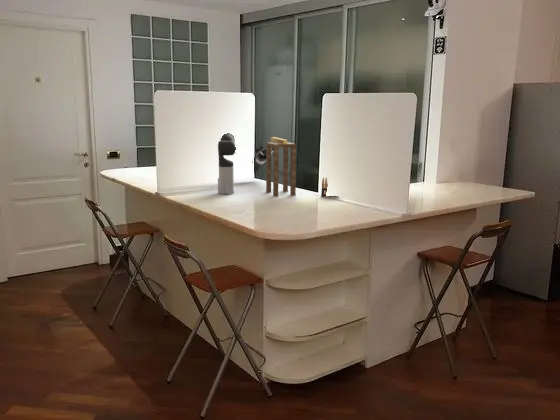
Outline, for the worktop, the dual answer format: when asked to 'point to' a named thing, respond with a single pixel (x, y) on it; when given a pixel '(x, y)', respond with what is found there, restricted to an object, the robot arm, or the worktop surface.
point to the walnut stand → (285, 167)
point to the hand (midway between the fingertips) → (268, 147)
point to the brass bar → (279, 140)
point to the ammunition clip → (323, 187)
